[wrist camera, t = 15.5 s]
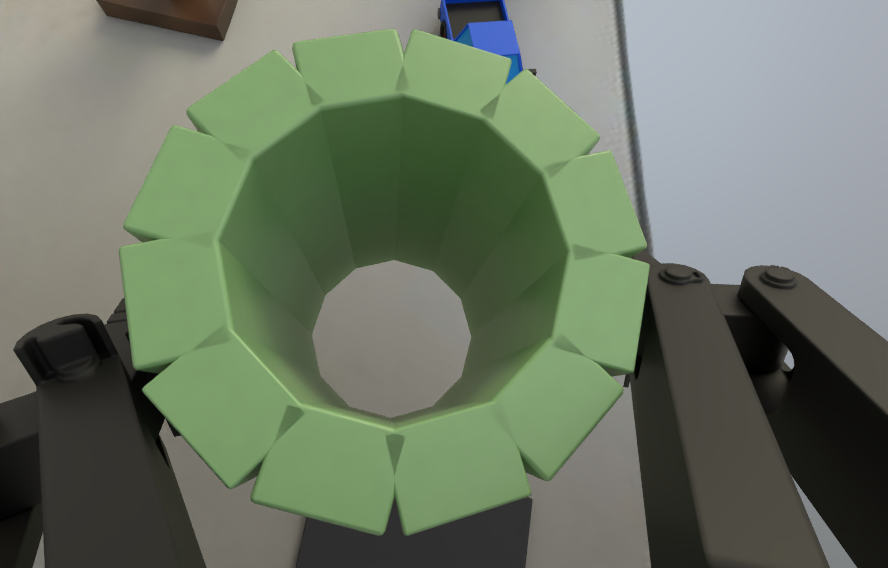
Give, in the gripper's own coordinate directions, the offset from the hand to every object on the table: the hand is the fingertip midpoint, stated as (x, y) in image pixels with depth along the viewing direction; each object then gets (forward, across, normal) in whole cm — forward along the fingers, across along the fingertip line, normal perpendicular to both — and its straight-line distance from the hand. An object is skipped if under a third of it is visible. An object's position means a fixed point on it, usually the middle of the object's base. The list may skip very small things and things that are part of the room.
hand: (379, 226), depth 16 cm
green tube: (0, 0, -4) cm, 4 cm away
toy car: (+27, +11, 0) cm, 29 cm away
